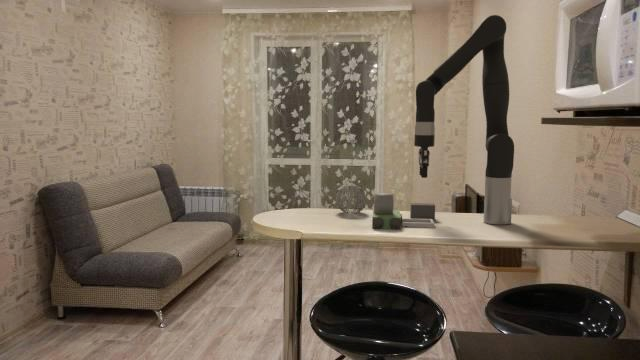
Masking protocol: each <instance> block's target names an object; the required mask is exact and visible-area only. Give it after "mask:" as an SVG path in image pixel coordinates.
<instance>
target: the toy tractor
mask: <svg viewBox="0 0 640 360" xmlns="http://www.w3.org/2000/svg"><path fill="white" fill-rule="evenodd" d="M394 195H395V194H394V193H387V192H378V193H374V196H373V197H374V199H373V200H374V201H373V202H374V205H373V209H372V220H371V221H372V222H371V223H372V224H371V225H372V226H371V228H372V229H377V230H379V229H387V228H392V230H398V228H401V229H402V226H408V227H407V228H430V227H431V228H434V229H435V226H436V225H435V221H433V220H432V219H410V218H403V214H402V213H400V212H401V211H400V209H394V204H395V203H394V199H395V198H394ZM431 228H430V229H431Z"/></svg>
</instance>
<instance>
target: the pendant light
mask: <svg viewBox="0 0 640 360" xmlns="http://www.w3.org/2000/svg"><path fill="white" fill-rule="evenodd" d="M357 142H358V139H347V141H346V143H350V145H351V146H353V145H354V143H357ZM350 152H351V154H350V155H351V156H350V158H351V162H350V167H351V168H353V166H354V163H353V159H354V158H353V147H351V149H350ZM350 171H351V172H350V174H353V171H354V170H353V169H351V170H350ZM352 176H353V175H350V183H348V184H347V185H345V186H342V188H339V190H338V192H337V194H336V198H335V199H336V201H335V202H336V205H337V208H339V210H340V211H341V212H343V213H344V214H348V215H349V212H350V213H351V214H354V215H356V214H359V213H361V212H362V211H363V210H364V208H366V205H367V195H366V191H365V190H364V189H363V188H362V187H361V186H359V185H356V184H355V183H353V177H352Z"/></svg>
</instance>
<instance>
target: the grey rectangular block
mask: <svg viewBox="0 0 640 360" xmlns="http://www.w3.org/2000/svg"><path fill="white" fill-rule="evenodd" d="M409 209H410V211H409V213H410V214H409V217H410V218H411V219H432V220H433V221H434V222H435V221H436V219H435V218H436V205H435V203H433V202H432V203H431V202H429V203H427V202H425V203H422V202H410V208H409ZM410 218H409V219H410Z"/></svg>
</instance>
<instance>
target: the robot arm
mask: <svg viewBox="0 0 640 360" xmlns="http://www.w3.org/2000/svg"><path fill="white" fill-rule="evenodd" d="M506 32H507V22H506V21H505V18H503V17H502V16H501V15H498V14H492V15H489V16H486V17H485V18H484V19H483V20H482V21H481V23H480V24H479V26H478V27H477V28H476V30H475V31H474V32H473V33H472V34H471V35H470V36H469V38H467V40H466V41H465V42H464V43H463V44H462V45H460V46H459V47H458V48H457V49H456V50H455V51H454V52H453V53H451V54H450V55H449V56H448V57H446V59H445V60H444V61H442V62H441V63H440V64H439V66H438V65H437V67H436V68H435V69H434V70H433V72H432V73H431V74H430V75H429V76H428V77H427V78H426V79H424V80H421V81H419V82H418V84H417V85H416V88H415V105H416V110H415V123H414V124H415V125H414V142H413V143H414V144H413V146H414V147H420V148H419V149H418V150H419V151H418V152H417V153H418V165H419V174H418V175H420V177H421V178H423V179H424V178H426V179H427V178H428V169H429V166H430V155H431V153H430V149H429V148H433V147H435V136H436V133H435V132H436V126H435V118H436V116H435V115H436V114H435V96H436V95H437V94H438V93H439V92H441V90H442V89H443V88H444V87H445V85H447V84H448V83H449V82H451V81H452V80H453V79H454V78H455V77H456V76H457V75H458V74H459V73H461V72H462V71H463V70H464V69H465V68H466V67H467V66H468V64H470V62H471V61H472V60H473V59H474V58H475V57H476V56H477V55H478V54H480V52H482V56H483V57H482V59H483V60H482V75H481V76H482V78H481V79H482V80H481V81H482V82H481V83H482V99H483V106H484V108H483V109H484V114H485V121H486V128H485V129H486V130H485V131H486V135H485V150H486V152H487V153H486V166H485V167H486V168H485V171H484V173H485V175H484V176H485V177H484V178H485V179H484V205H483V223H484V224H489V225H496V226H497V225H501V226H502V225H512V213H513V209H512V208H513V198H512V196H511V195H512V177H513V175H512V174H513V173H512V172H513V169H514V161H515V160H514V159H515V143H514V141H513V138H512V137H511V136H510V135H509V129H508V111H509V104H510V81H509V73H508V67H507V63H506V60H505V59H506V58H505V35H506Z"/></svg>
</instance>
